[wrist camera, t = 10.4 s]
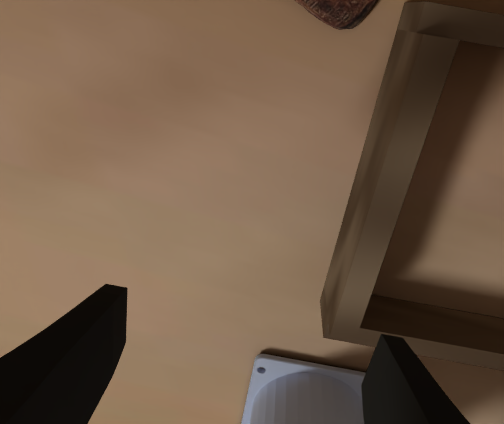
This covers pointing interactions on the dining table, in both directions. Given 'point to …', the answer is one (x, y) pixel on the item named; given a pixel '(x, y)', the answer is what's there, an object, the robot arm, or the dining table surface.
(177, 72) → the dining table surface
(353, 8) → the wooden tablet
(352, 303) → the rack
